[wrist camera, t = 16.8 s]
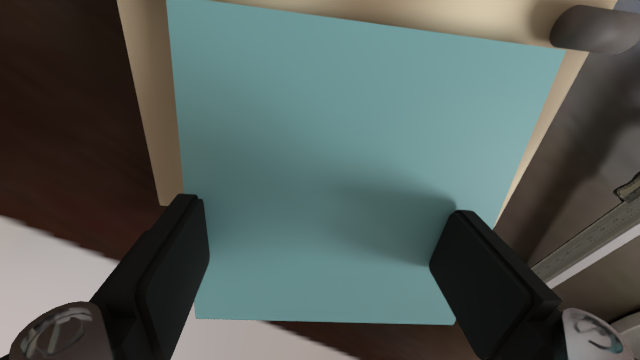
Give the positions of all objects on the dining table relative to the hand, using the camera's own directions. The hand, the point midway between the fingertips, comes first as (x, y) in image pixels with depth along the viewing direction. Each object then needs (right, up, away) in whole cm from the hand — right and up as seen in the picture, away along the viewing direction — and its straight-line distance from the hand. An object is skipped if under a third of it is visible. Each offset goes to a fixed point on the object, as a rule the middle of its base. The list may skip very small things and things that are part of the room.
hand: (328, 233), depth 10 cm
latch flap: (+1, +1, +1) cm, 2 cm away
